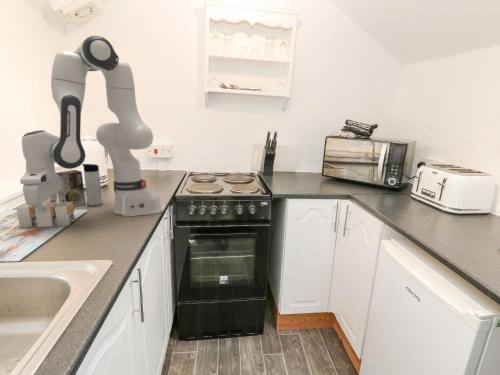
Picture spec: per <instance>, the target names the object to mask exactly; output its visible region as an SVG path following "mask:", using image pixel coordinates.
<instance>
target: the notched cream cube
mask: <svg viewBox="0 0 500 375" xmlns="http://www.w3.org/2000/svg"><path fill="white" fill-rule="evenodd" d="M42 203H43V204H42V206H43V208H45V212H44V213H38V209H37V208H36V207H35V213H36V219H37V225H38V226H37V228H45V227H46V228H47V227H48V228H50V227H49V226H52V227H53V226H54V225H53V219H52V217H54V216H56V211H55V206H57V205H58V203H57V201H56V202H50V201H49V202H48V201H47V202H45V201H43V202H42Z"/></svg>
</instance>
